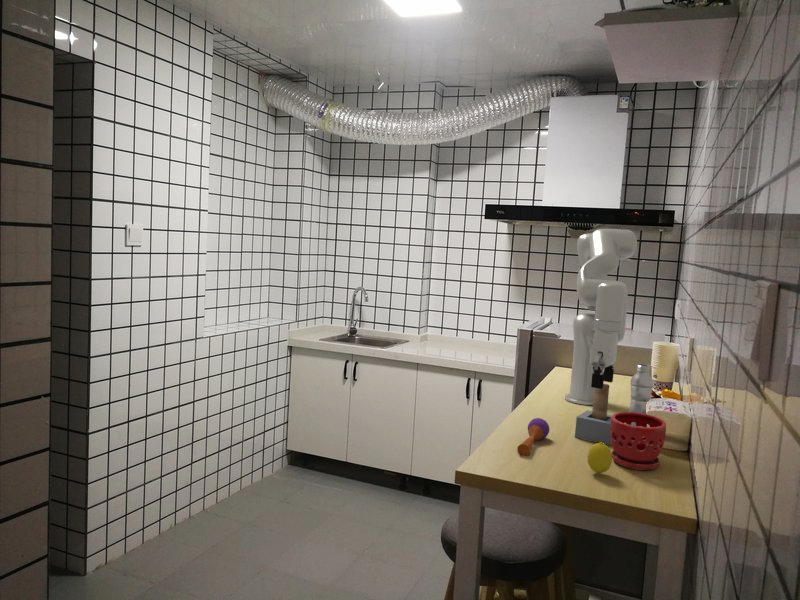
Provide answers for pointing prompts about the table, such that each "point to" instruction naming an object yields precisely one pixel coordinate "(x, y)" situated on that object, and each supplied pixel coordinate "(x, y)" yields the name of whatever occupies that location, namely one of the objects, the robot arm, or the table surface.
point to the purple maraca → (534, 435)
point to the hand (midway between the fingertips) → (601, 384)
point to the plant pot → (637, 440)
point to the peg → (600, 403)
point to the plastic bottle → (640, 390)
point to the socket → (593, 428)
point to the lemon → (599, 458)
